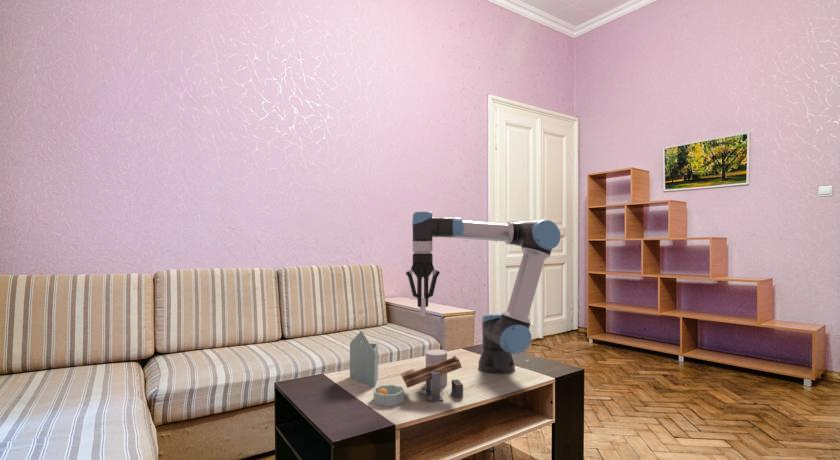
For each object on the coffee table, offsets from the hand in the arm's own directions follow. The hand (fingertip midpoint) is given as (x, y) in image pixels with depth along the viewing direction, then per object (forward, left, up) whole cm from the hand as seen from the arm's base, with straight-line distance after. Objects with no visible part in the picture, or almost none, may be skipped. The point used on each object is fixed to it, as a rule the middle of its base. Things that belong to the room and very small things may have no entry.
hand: (422, 315), depth 166 cm
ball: (+17, +11, -24) cm, 31 cm away
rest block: (-10, +11, -26) cm, 30 cm away
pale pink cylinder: (-6, -2, -27) cm, 27 cm away
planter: (+19, -12, -27) cm, 35 cm away
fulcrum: (-1, +11, -26) cm, 29 cm away
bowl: (+14, +11, -26) cm, 32 cm away
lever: (-1, +8, -19) cm, 20 cm away
